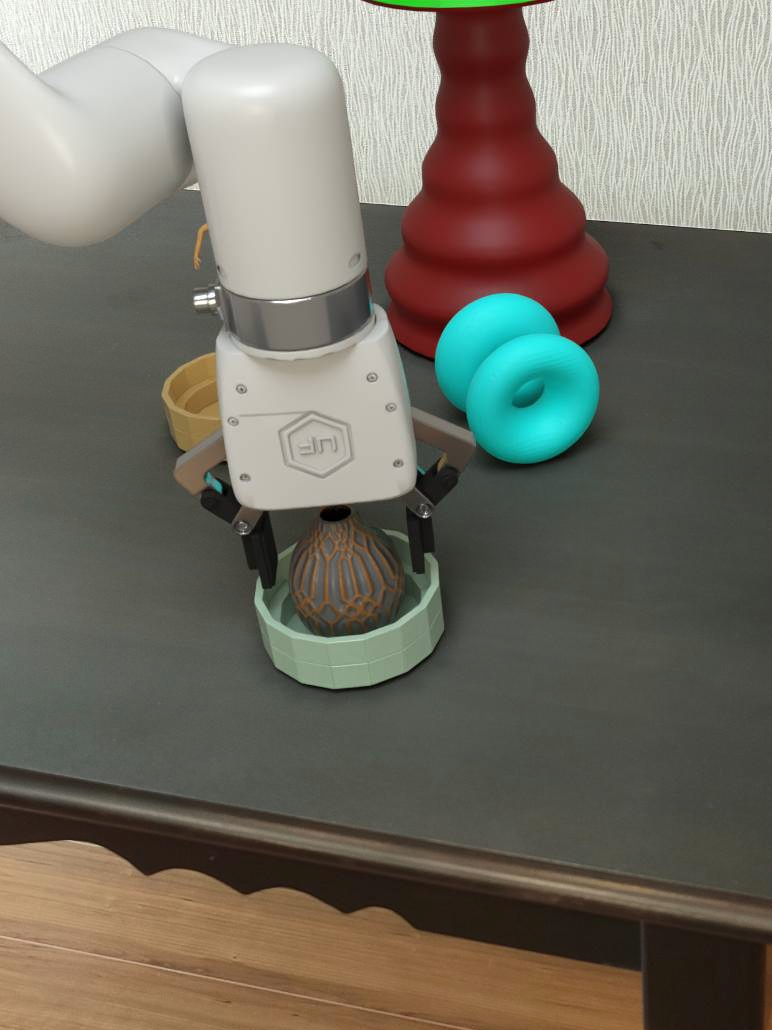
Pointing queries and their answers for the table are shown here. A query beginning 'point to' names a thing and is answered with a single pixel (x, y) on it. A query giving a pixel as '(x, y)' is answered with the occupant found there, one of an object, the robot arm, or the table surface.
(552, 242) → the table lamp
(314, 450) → the robot arm
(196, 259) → the figurine
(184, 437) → the far bowl
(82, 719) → the table surface
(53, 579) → the table surface
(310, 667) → the near bowl
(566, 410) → the donuts
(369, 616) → the vase
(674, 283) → the table surface
